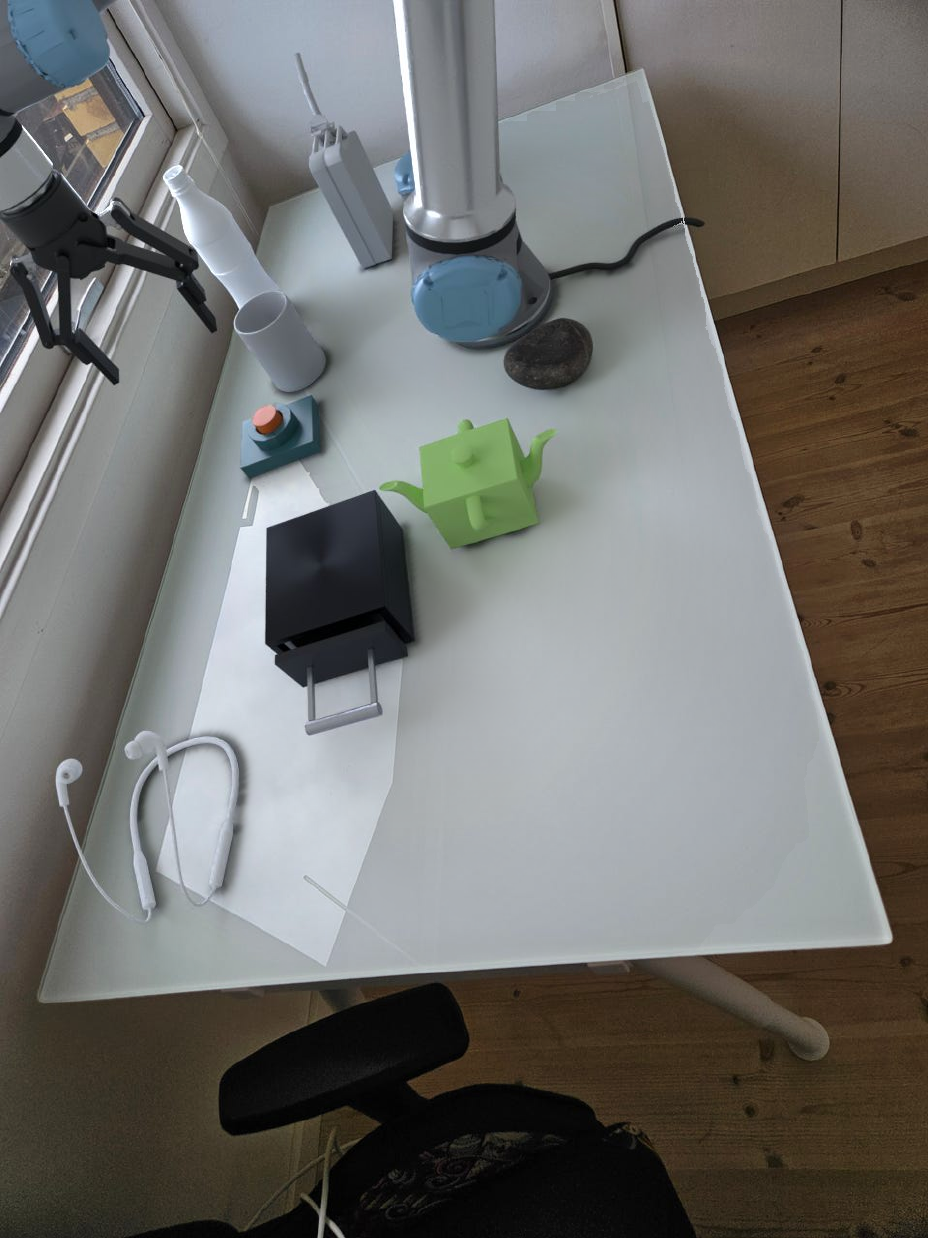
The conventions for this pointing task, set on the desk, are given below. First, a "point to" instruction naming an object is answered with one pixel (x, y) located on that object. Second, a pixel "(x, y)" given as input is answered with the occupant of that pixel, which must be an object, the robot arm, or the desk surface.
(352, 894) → the desk surface
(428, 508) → the teapot
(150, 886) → the earphone
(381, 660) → the drawer
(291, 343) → the mug
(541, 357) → the stone
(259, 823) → the desk surface
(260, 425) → the stop button
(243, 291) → the water bottle
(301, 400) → the stop button base
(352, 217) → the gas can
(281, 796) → the desk surface
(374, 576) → the black box
